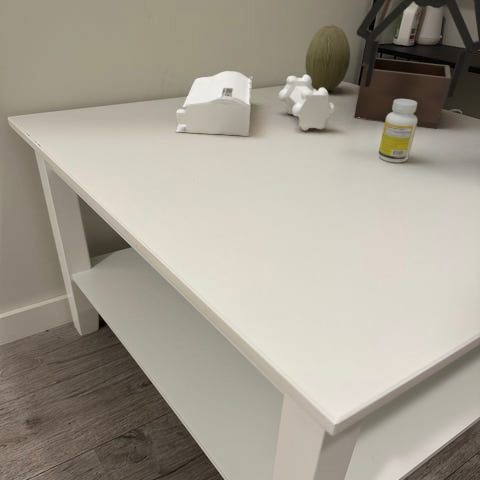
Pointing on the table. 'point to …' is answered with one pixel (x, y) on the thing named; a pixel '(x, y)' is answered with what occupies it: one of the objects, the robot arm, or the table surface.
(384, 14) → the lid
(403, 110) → the supplement bottle
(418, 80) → the chest
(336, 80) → the fruit
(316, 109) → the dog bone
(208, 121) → the barrel roof building
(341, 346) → the table surface
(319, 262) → the table surface
